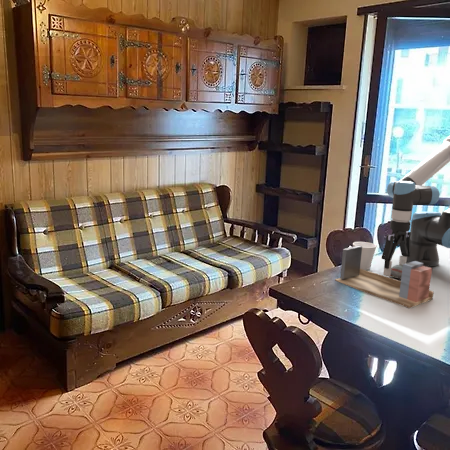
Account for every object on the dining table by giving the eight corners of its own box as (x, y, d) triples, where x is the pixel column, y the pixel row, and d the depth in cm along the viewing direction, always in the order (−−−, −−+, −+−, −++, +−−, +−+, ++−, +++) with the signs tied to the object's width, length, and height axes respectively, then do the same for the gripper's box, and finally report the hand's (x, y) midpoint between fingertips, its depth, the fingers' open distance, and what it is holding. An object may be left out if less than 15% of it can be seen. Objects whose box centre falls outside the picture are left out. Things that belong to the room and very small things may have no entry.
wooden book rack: (358, 275, 194) (361, 244, 191) (432, 299, 170) (437, 264, 167) (335, 281, 185) (337, 249, 182) (409, 308, 161) (414, 271, 158)
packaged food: (409, 284, 184) (410, 272, 183) (382, 276, 193) (383, 264, 192) (420, 280, 189) (422, 268, 188) (394, 272, 198) (395, 261, 197)
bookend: (355, 274, 191) (358, 245, 188) (359, 275, 190) (362, 246, 187) (340, 278, 185) (343, 249, 182) (343, 279, 184) (346, 250, 181)
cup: (375, 273, 197) (378, 248, 194) (351, 271, 198) (353, 246, 196) (372, 267, 206) (375, 242, 204) (349, 265, 208) (351, 240, 205)
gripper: (407, 215, 197) (401, 266, 202) (375, 221, 184) (369, 275, 188) (424, 219, 192) (417, 271, 197) (393, 225, 178) (386, 281, 183)
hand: (394, 273), depth 192 cm, fingers open, 10 cm apart
